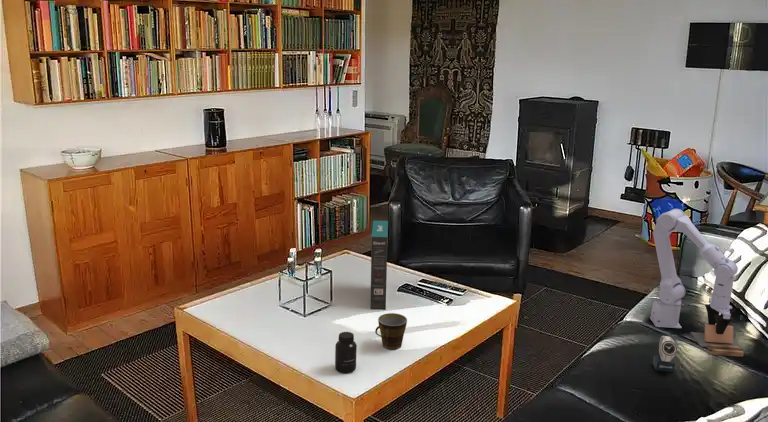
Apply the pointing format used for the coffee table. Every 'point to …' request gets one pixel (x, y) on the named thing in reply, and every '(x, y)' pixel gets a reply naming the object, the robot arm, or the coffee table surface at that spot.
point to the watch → (665, 355)
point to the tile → (720, 338)
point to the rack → (725, 350)
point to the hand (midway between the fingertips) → (715, 329)
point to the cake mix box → (379, 265)
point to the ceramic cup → (392, 330)
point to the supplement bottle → (345, 353)
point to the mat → (701, 337)
